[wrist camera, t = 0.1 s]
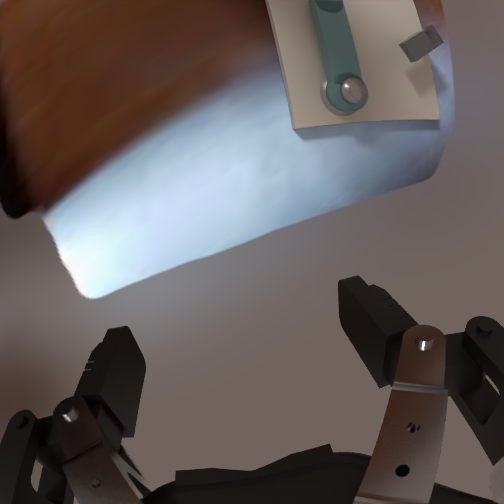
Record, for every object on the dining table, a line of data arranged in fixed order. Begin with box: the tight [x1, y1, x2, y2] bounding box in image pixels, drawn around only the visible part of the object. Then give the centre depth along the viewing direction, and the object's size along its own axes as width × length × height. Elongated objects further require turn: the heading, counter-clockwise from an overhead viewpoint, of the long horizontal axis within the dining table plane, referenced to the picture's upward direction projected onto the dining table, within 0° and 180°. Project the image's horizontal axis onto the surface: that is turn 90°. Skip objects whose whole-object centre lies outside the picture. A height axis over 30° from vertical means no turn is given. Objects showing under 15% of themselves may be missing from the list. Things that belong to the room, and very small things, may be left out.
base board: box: [265, 0, 440, 129], centre depth 31 cm, size 22×24×2 cm
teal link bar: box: [309, 0, 368, 112], centre depth 29 cm, size 18×5×2 cm, turn 11°
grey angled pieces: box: [320, 25, 444, 116], centre depth 30 cm, size 22×6×4 cm, turn 131°
